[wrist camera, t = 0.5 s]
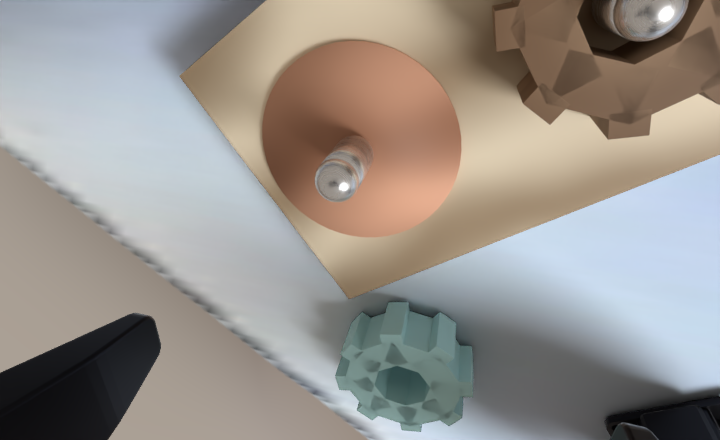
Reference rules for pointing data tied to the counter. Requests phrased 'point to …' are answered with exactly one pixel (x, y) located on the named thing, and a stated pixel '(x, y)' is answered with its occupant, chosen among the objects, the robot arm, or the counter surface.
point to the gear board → (419, 130)
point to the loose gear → (406, 367)
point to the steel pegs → (610, 11)
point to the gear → (609, 64)
